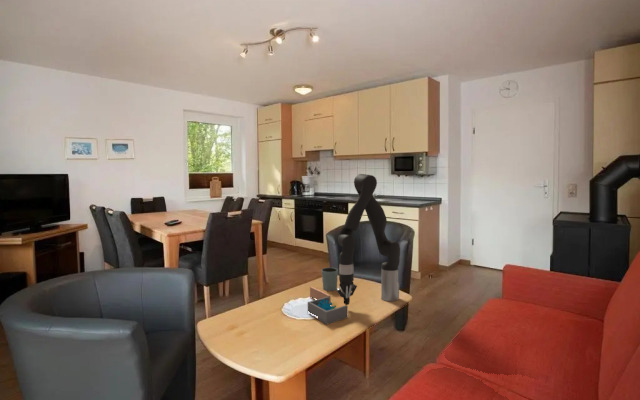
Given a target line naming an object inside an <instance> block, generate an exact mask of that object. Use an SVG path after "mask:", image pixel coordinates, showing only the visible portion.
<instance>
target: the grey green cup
mask: <svg viewBox="0 0 640 400" xmlns="http://www.w3.org/2000/svg"><path fill="white" fill-rule="evenodd" d="M338 273H339V268H335V267H324V268H322V269H321V279H322V280H321V281H322V289H323V290H324V291H327V292H331V291H336V289H338V275H339V274H338Z"/></svg>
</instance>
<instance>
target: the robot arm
mask: <svg viewBox="0 0 640 400" xmlns="http://www.w3.org/2000/svg"><path fill="white" fill-rule="evenodd" d="M377 181H378V180H377V177H375V176H374V175H372V174H366V173H358V174H356V176H355V178H354V180H353V186H354V189H355V190H356V193H357V194H358V196H359V198H358V199H357V201H356V202H355V203H354V205H353V206H352V207H351V208H350V210H349V212H348V214H347V217H346V219H345V222H344V225H343V227H342V228H341V230H340V232H339V233H338V236H337V242H338V246H340V247H342V248H341V249H342V250H341V252H340V253H339V257H338V258H339V266H338V273H339V274H338V275H339V277H338V280H339V284H338V287H337V289H336V290H335V291H336V292H337V294H338V296H340V297H341V298H343V304H344V306H345V305H347V306H348V305H349V304H350V298H351V297H352V296H353V295H354V293H355V291H356V290H357V287H358V285H357V284H355V283H354V279H355V276H354V274H355V273H354V270H355V269H354V268H355V267H354V252H355V248H356V242H355V237H354V236H353V234H354V232H356V231H357V230H358V228H359V225H360V222H361V220H362V217H363V215H364V213H366V216H367V219H368V221H369V224H370V226H371V229H372V232H373V235H374V238H375V241H376V246H377V250H378V252H379V254H380V255H382V256H383V257H387V261H385V262H382V263H381V271H380V273H381V274H380V275H381V277H380V278H381V279H380V280H381V281H380V282H381V289H380V291H381V292H380V293H381V295H380V298H381V300H383V301H386V302H395V301H397V300H398V299H400V282H399V266H400V259H401V258H400V257H401V246H400V243H399V242H397V241H395V240H389V239H388V238H387V235H386V232H385V231H386V228H387V223H388V222H387V217H386V214H385V211H384V208H383V207H382V206H381V204H380V203H379V202H378V201H377V199H376V198H375V197H374V195H373V194H374V192H375V190H376V188H377V185H378V182H377Z"/></svg>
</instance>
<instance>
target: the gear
mask: <svg viewBox="0 0 640 400" xmlns="http://www.w3.org/2000/svg"><path fill="white" fill-rule="evenodd" d="M324 301H325V300H324V299H323V300H322V301H320V302H319V303H320V304H321V305H320V304H318V307H320V308H322V309H324V310H326V311H328V310H332V309H335V308H337V306H336V305H333V303H332V302H330V304H328V302H329V301H328V300H326V303H324ZM322 302H323V304H322ZM330 305H331V306H330ZM332 305H333V306H332Z"/></svg>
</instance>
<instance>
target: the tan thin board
mask: <svg viewBox="0 0 640 400" xmlns="http://www.w3.org/2000/svg"><path fill="white" fill-rule="evenodd" d="M311 297H313V298H316V299H321V298H325V297H329V304H330V302H331V301H332V300H331V298H332V297H331V295H330V294H328V293H326V292H324V291H322V290H320V289H318V288H315V287H314V286H310V287H309V298H311ZM313 298H312V299H313ZM331 303H332V302H331Z"/></svg>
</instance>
